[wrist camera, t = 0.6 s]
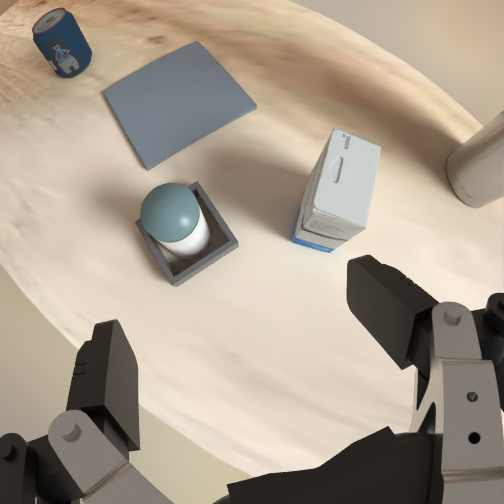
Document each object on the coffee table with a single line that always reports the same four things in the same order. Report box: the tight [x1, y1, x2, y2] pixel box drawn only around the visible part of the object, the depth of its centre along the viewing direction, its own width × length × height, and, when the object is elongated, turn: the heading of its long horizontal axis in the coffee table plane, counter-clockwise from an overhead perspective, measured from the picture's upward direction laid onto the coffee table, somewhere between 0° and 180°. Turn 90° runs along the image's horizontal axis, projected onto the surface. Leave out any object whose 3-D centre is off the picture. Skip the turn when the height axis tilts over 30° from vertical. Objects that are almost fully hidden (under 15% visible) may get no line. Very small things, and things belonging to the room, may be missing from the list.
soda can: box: [32, 8, 92, 78], centre depth 34 cm, size 7×7×12 cm
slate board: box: [103, 41, 257, 170], centre depth 38 cm, size 16×16×1 cm
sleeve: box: [135, 181, 239, 287], centre depth 34 cm, size 8×8×2 cm
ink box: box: [291, 127, 381, 253], centre depth 31 cm, size 9×5×12 cm, turn 162°
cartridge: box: [141, 183, 210, 258], centre depth 31 cm, size 5×5×10 cm
